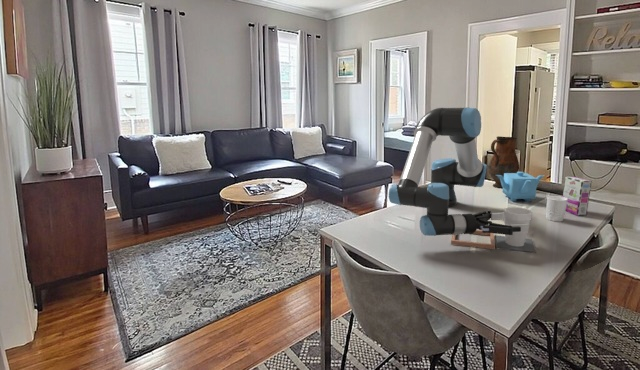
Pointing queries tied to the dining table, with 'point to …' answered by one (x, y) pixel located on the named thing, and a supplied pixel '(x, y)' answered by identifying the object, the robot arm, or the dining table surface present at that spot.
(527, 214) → the foam cup
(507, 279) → the dining table surface
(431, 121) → the robot arm
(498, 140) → the pitcher
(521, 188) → the teakettle
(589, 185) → the candy bar box
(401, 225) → the dining table surface
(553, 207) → the white cup
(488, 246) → the terracotta frame
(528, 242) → the rubber mat
